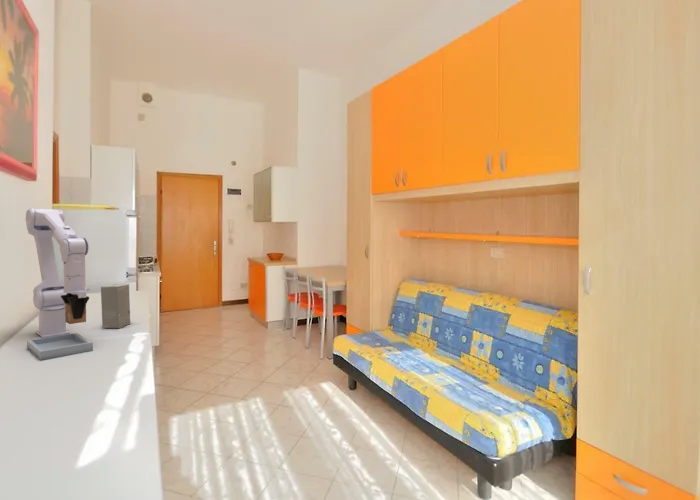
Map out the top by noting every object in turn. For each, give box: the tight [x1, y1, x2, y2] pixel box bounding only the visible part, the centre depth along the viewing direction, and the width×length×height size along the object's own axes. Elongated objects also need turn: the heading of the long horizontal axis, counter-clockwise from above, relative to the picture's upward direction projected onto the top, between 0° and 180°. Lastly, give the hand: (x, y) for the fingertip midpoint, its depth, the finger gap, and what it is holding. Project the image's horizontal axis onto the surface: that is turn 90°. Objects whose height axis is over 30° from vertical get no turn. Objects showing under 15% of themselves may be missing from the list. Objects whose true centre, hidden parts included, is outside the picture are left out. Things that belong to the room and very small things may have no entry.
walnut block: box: [65, 303, 87, 325], centre depth 129 cm, size 4×4×6 cm
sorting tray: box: [26, 332, 94, 361], centre depth 123 cm, size 16×13×2 cm
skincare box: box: [100, 283, 131, 329], centre depth 152 cm, size 8×7×16 cm
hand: (75, 317), depth 129 cm, fingers closed on walnut block, 4 cm apart
